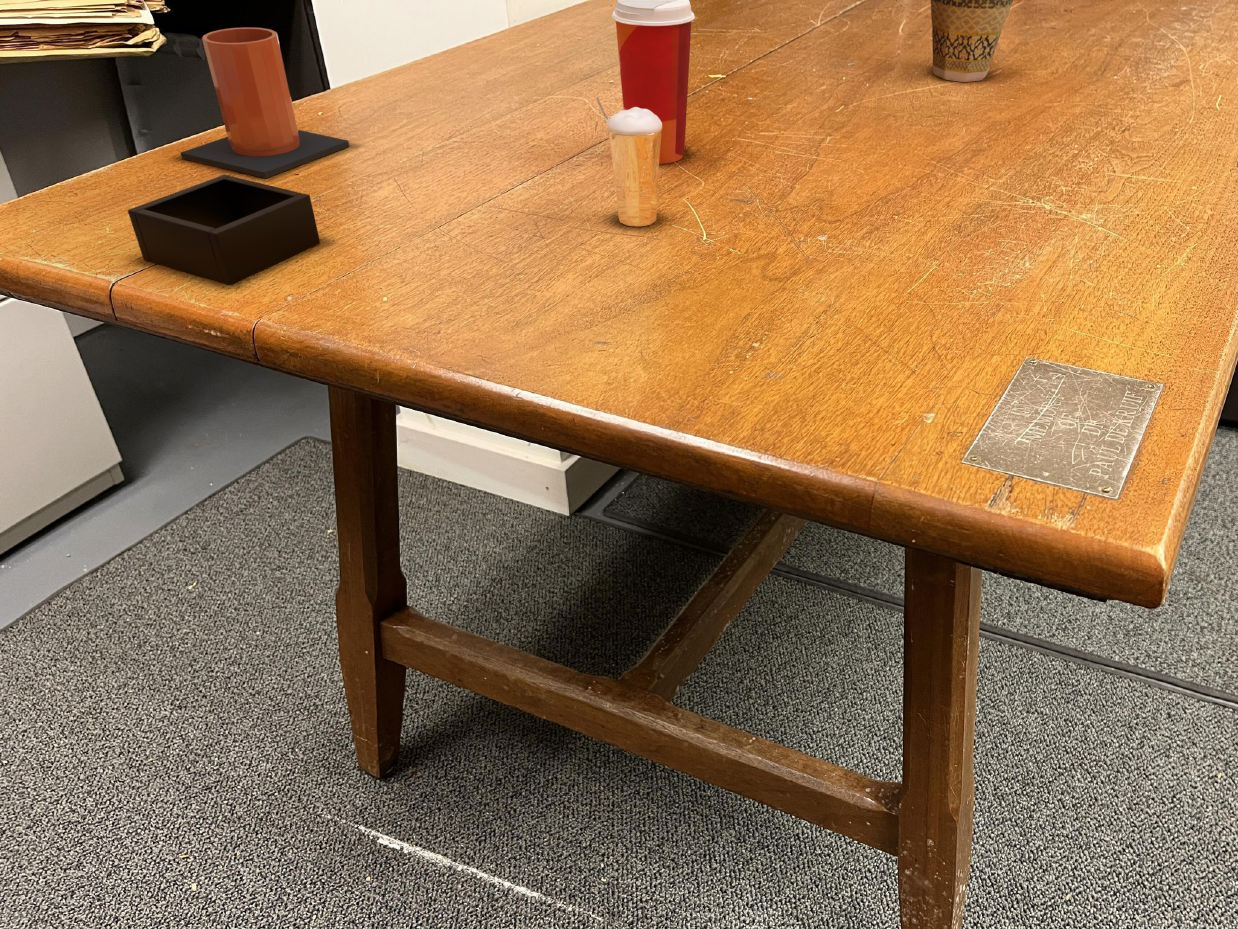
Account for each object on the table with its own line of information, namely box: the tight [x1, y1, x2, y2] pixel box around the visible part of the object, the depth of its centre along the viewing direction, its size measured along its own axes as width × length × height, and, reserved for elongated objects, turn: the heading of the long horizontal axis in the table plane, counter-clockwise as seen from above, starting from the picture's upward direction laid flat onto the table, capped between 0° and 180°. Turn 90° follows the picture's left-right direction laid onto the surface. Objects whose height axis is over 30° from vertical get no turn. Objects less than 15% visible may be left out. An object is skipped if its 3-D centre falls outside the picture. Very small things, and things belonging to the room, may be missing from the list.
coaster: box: [180, 129, 350, 179], centre depth 104 cm, size 11×11×1 cm
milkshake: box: [595, 96, 662, 228], centre depth 89 cm, size 5×5×10 cm
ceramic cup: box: [930, 0, 1014, 83], centre depth 131 cm, size 13×10×10 cm
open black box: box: [127, 174, 321, 286], centre depth 84 cm, size 9×9×4 cm
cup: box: [201, 27, 301, 157], centre depth 100 cm, size 6×6×10 cm
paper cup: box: [611, 0, 696, 165], centre depth 101 cm, size 8×8×14 cm
